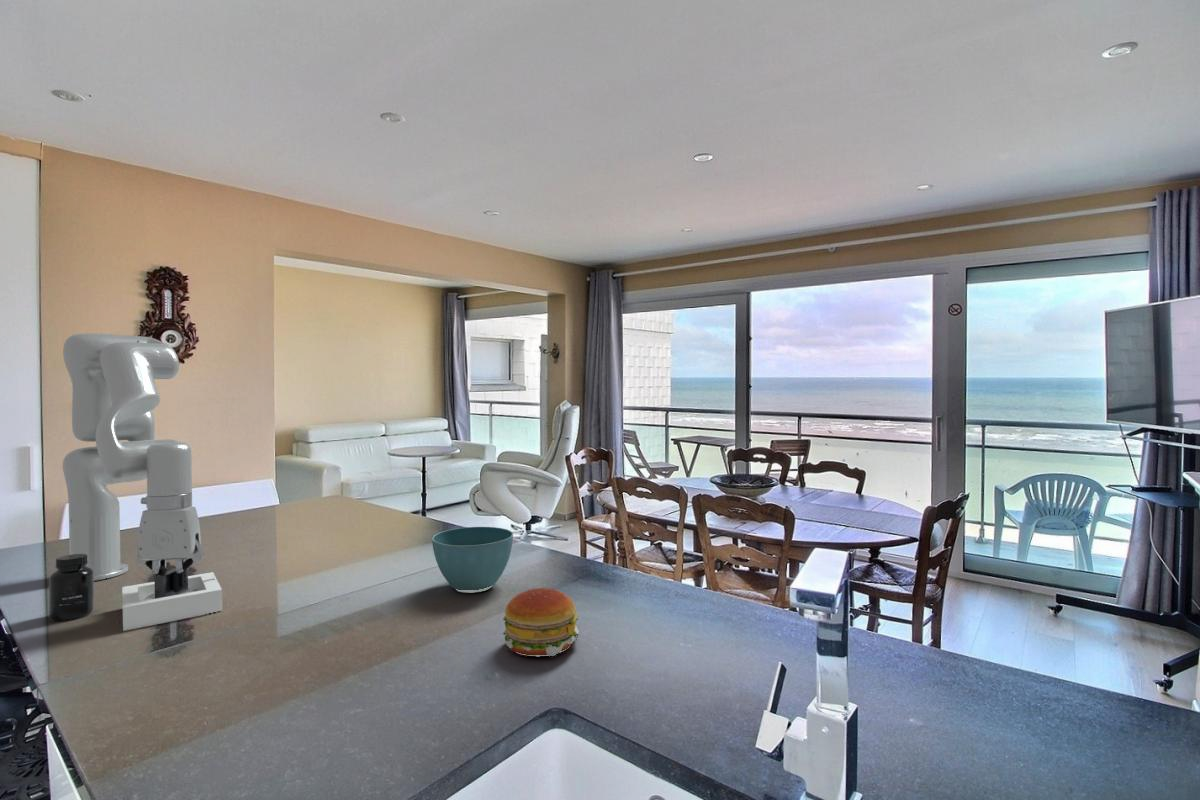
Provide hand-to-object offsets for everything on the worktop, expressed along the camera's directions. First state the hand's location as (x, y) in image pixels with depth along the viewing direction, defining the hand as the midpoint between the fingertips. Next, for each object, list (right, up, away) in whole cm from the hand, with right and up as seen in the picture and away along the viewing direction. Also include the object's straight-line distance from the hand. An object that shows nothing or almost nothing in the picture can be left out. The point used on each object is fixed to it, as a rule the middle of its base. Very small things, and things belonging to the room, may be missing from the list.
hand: (171, 590), depth 124 cm
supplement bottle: (-18, -4, -3) cm, 19 cm away
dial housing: (0, -4, 0) cm, 4 cm away
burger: (+78, -5, -17) cm, 80 cm away
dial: (0, -2, 0) cm, 2 cm away
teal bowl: (+60, -4, +14) cm, 61 cm away
